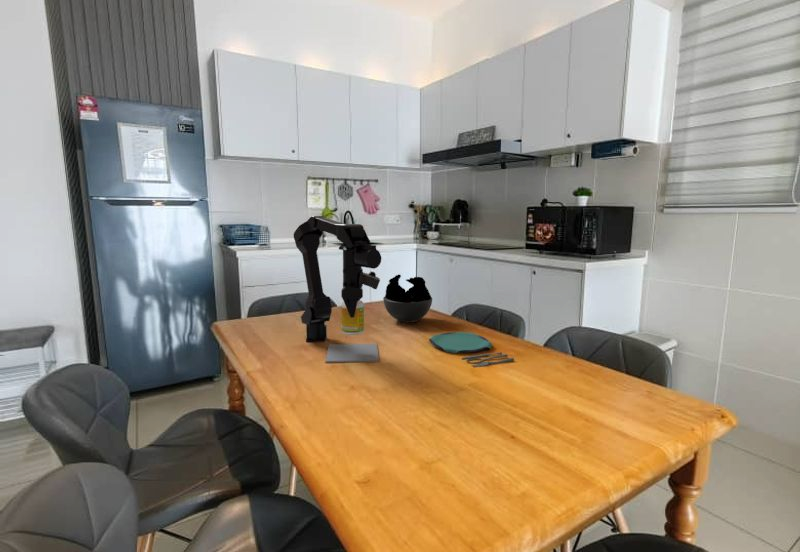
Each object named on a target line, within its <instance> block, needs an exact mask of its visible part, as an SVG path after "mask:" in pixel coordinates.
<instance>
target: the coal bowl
mask: <svg viewBox="0 0 800 552" xmlns="http://www.w3.org/2000/svg"><path fill="white" fill-rule="evenodd" d="M401 277H402V275H401V274H396V275H394V276H393V277H392V278H390V279H389V280H388V284H387V286H386V289H385V295H384V296H383V299H382V301H383V304H384V305H383V306H384V307H385V308H384V309H385V310H386V312H387V314H389V316H391V317H392V318H394V319H395V320H397V321H398V322H402V323H413V322H417V321H419V320H422V319H423V318H424V317H425V316H427V314H428V312H429V311H430V309H431V307H432V304H433V297H432V295H431V293H430V291H429V289H428V288H427V286H426V281H425V279H424V278H423V277H421V276H414V277H409V279H405V281H406V282H408V283H409V284H412V286H411V287H410V288H409V289H408V290H406V289H405V288H404V287H402V286H401V285H400V284H399V283H400V282H399V281H400V279H401Z"/></svg>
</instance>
